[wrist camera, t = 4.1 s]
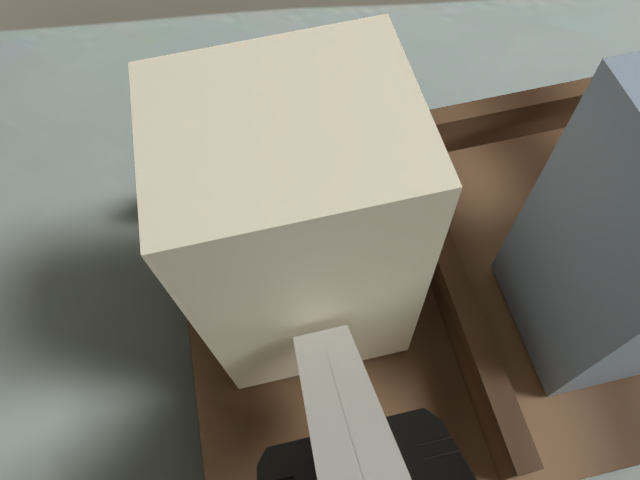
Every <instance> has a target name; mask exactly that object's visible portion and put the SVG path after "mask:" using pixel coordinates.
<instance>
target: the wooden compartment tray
mask: <svg viewBox="0 0 640 480" xmlns="http://www.w3.org/2000/svg"><path fill="white" fill-rule="evenodd" d="M592 78H593V77H591V78H586V79H581V80H576V81H571V82H566V83H561V84H556V85H551V86H546V87H541V88H536V89H531V90H526V91H521V92H516V93H511V94H506V95H502V96H497V97H492V98H487V99H482V100H477V101H472V102H467V103H462V104H457V105H452V106H447V107H442V108H437V109H432V110H430V113H431V115H432V117H433V120H434V122H435V124H436V127H437V129H438V131H439V133H440V136H441V138H442V140H443V143H444V145H445V147H446V150H447V152H448V154H449V157H450V159H451V161H452V164H453V166H454V168H455V171H456V173H457V175H458V178H459V180H460V182H461V185H462V190H461V193H460V196H459V199H458V202H457V205H456V208H455V211H454V214H453V217H452V220H451V223H450V226H449V229H448V232H447V235H446V238H445V241H444V244H443V247H442V250H441V253H440V256H439V259H438V262H437V265H436V268H435V271H434V274H433V277H432V280H431V283H430V286H429V289H428V292H427V295H426V298H425V301H424V304H423V307H422V310H421V313H420V315H419V318H418V321H417V324H416V327H415V330H414V333H413V336H412V339H411V342H410V345H409V348H408V350H405V351H401V352H397V353H392V354H388V355H384V356H379V357H375V358H371V359H367V360H362V361H363V364H364V366H365V369H366V371H367V373H368V376H369V378H370V381H371V383H372V385H373V388H374V390H375V393H376V395H377V397H378V400H379V402H380V405H381V407H382V409H383V412H384V414H385V417H387V416H392V415H396V414H400V413H404V412H408V411H412V410H417V409H421V408H425V409H427V410H428V411H430V412H431V413H433V414H434V415H436V416H437V417H439V418H440V419H441V420H442V422H443V423H444V425H445V427H446V428H447V430H448V432H449V433H450V435H451V438H452V439H453V440H454V442H455V444H456V445H457V447H458V449H459V452H461V454H462V456H463V457H464V459H465V461H466V462H467V464H468V466H469V468H470V469H471V471H472V473H473V474H474V476H475V478H476V480H581V479H585V478H589V477H592V476H596V475H600V474H604V473H608V472H612V471H616V470H620V469H624V468H628V467H632V466H635V465H639V464H640V375H636V376H632V377H628V378H623V379H619V380H615V381H611V382H607V383H603V384H599V385H595V386H591V387H587V388H582V389H578V390H574V391H570V392H566V393H562V394H558V395H554V396H550V397H547V396H546V394H545V391H544V389H543V387H542V384H541V382H540V380H539V377H538V375H537V373H536V370H535V368H534V366H533V363H532V361H531V359H530V356H529V354H528V351H527V349H526V347H525V344H524V342H523V340H522V337H521V335H520V333H519V330H518V328H517V326H516V323H515V321H514V319H513V316H512V314H511V311H510V309H509V307H508V304H507V302H506V300H505V297H504V295H503V293H502V290H501V288H500V286H499V283H498V281H497V279H496V276H495V274H494V271H493V269H492V267H491V265H492V263H493V261H494V259H495V257H496V255H497V254H498V252H499V250H500V248H501V246H502V244H503V243H504V241H505V239H506V237H507V235H508V233H509V231H510V230H511V228H512V226H513V224H514V222H515V220H516V218H517V217H518V215H519V213H520V211H521V209H522V207H523V205H524V204H525V202H526V200H527V198H528V196H529V194H530V192H531V191H532V189H533V187H534V185H535V183H536V181H537V180H538V178H539V176H540V174H541V172H542V170H543V168H544V167H545V165H546V163H547V161H548V159H549V157H550V155H551V154H552V152H553V150H554V148H555V146H556V144H557V142H558V141H559V139H560V137H561V135H562V133H563V131H564V129H565V128H566V126H567V124H568V122H569V120H570V118H571V116H572V115H573V113H574V111H575V109H576V107H577V105H578V104H579V102H580V100H581V98H582V96H583V94H584V92H585V91H586V89H587V87H588V85H589V83H590V81H591V79H592ZM188 328H189V337H190V347H191V356H192V366H193V375H194V384H195V394H196V403H197V413H198V422H199V432H200V441H201V450H202V460H203V469H204V479H205V480H257V464H258V462H259V460H260V458H261V456H262V454H263V453H264V451H265V449H266V447H270V446H274V445H278V444H282V443H286V442H291V441H295V440H299V439H303V438H307V437H310V434H309V428H308V422H307V417H306V411H305V405H304V399H303V393H302V387H301V381H300V376H299V375H298V376H294V377H289V378H285V379H281V380H276V381H272V382H268V383H263V384H259V385H255V386H251V387H246V388H242V389H239V388H238V387H237V386H236V384H235V383H234V382H233V380H232V379H231V378H230V376H229V375H228V373H227V372H226V371H225V369H224V368H223V367H222V365H221V364H220V363H219V361H218V360H217V358H216V357H215V356H214V354H213V353H212V352H211V350H210V349H209V348H208V346H207V345H206V344H205V342H204V341H203V339H202V338H201V337H200V335H199V334H198V333H197V331H196V330H195V329H194V327H193V326H192V325H191V323H190V322H189V320H188Z"/></svg>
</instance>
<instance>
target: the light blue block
mask: <svg viewBox="0 0 640 480" xmlns="http://www.w3.org/2000/svg"><path fill="white" fill-rule="evenodd" d="M491 267H492V269H493V271H494V274H495V276H496V279H497V281H498V283H499V286H500V288H501V290H502V293H503V295H504V297H505V300H506V302H507V304H508V307H509V309H510V311H511V314H512V316H513V319H514V321H515V323H516V326H517V328H518V330H519V333H520V335H521V337H522V340H523V342H524V344H525V347H526V349H527V351H528V354H529V356H530V359H531V361H532V363H533V366H534V368H535V370H536V373H537V375H538V377H539V380H540V382H541V384H542V387H543V389H544V391H545V394H546V396H547V397H550V396H554V395H558V394H562V393H566V392H570V391H574V390H578V389H582V388H587V387H591V386H595V385H599V384H603V383H607V382H611V381H615V380H619V379H623V378H628V377H632V376H636V375H640V51H638V52H633V53H628V54H623V55H618V56H613V57H608V58H603V59H602V61H601V63H600V65H599V66H598V68H597V70H596V72H595V74H594V76H593V78H592V79H591V81H590V83H589V85H588V87H587V89H586V91H585V92H584V94H583V96H582V98H581V100H580V102H579V104H578V105H577V107H576V109H575V111H574V113H573V115H572V116H571V118H570V120H569V122H568V124H567V126H566V128H565V129H564V131H563V133H562V135H561V137H560V139H559V141H558V142H557V144H556V146H555V148H554V150H553V152H552V154H551V155H550V157H549V159H548V161H547V163H546V165H545V167H544V168H543V170H542V172H541V174H540V176H539V178H538V180H537V181H536V183H535V185H534V187H533V189H532V191H531V192H530V194H529V196H528V198H527V200H526V202H525V204H524V205H523V207H522V209H521V211H520V213H519V215H518V217H517V218H516V220H515V222H514V224H513V226H512V228H511V230H510V231H509V233H508V235H507V237H506V239H505V241H504V243H503V244H502V246H501V248H500V250H499V252H498V254H497V255H496V257H495V259H494V261H493V263H492V265H491Z"/></svg>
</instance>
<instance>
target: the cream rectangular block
mask: <svg viewBox="0 0 640 480" xmlns="http://www.w3.org/2000/svg"><path fill="white" fill-rule="evenodd" d="M128 66H129V81H130V97H131V112H132V128H133V143H134V159H135V174H136V190H137V206H138V221H139V237H140V252H141V257H142V258H143V259H144V261H145V262H146V263H147V265H148V266H149V268H150V269H151V270H152V272H153V273H154V274H155V276H156V277H157V278H158V280H159V281H160V282H161V284H162V285H163V287H164V288H165V289H166V291H167V292H168V293H169V295H170V296H171V297H172V299H173V300H174V301H175V303H176V304H177V306H178V307H179V308H180V310H181V311H182V312H183V314H184V315H185V316H186V318H187V319H188V320H189V322H190V323H191V325H192V326H193V327H194V329H195V330H196V331H197V333H198V334H199V335H200V337H201V338H202V339H203V341H204V342H205V344H206V345H207V346H208V348H209V349H210V350H211V352H212V353H213V354H214V356H215V357H216V358H217V360H218V361H219V363H220V364H221V365H222V367H223V368H224V369H225V371H226V372H227V373H228V375H229V376H230V378H231V379H232V380H233V382H234V383H235V384H236V386H237V387H238V388H239V389H242V388H246V387H251V386H255V385H259V384H263V383H268V382H272V381H276V380H281V379H285V378H289V377H294V376H298V375H299V370H298V364H297V358H296V352H295V346H294V340H293V337H296V336H300V335H305V334H309V333H314V332H318V331H322V330H327V329H331V328H336V327H340V326H344V325H348V328H349V330H350V333H351V335H352V337H353V340H354V342H355V345H356V347H357V349H358V352H359V354H360V357H361V359H362V360H367V359H371V358H375V357H379V356H384V355H388V354H392V353H397V352H401V351H405V350H408V348H409V345H410V342H411V339H412V336H413V333H414V330H415V327H416V324H417V321H418V318H419V315H420V313H421V310H422V307H423V304H424V301H425V298H426V295H427V292H428V289H429V286H430V283H431V280H432V277H433V274H434V271H435V268H436V265H437V262H438V259H439V256H440V253H441V250H442V247H443V244H444V241H445V238H446V235H447V232H448V229H449V226H450V223H451V220H452V217H453V214H454V211H455V208H456V205H457V202H458V199H459V196H460V193H461V190H462V185H461V182H460V180H459V178H458V175H457V173H456V171H455V168H454V166H453V164H452V161H451V159H450V157H449V154H448V152H447V150H446V147H445V145H444V143H443V140H442V138H441V136H440V133H439V131H438V129H437V127H436V124H435V122H434V120H433V117H432V115H431V113H430V110H429V108H428V106H427V103H426V101H425V99H424V96H423V94H422V92H421V89H420V87H419V85H418V82H417V80H416V78H415V75H414V73H413V71H412V68H411V66H410V64H409V62H408V59H407V57H406V55H405V52H404V50H403V48H402V45H401V43H400V41H399V38H398V36H397V34H396V31H395V29H394V27H393V24H392V22H391V20H390V17H389V15H388V14H383V15H378V16H372V17H367V18H362V19H356V20H351V21H346V22H340V23H335V24H330V25H324V26H319V27H314V28H308V29H303V30H298V31H292V32H287V33H282V34H276V35H271V36H266V37H260V38H255V39H250V40H244V41H239V42H234V43H228V44H223V45H218V46H212V47H207V48H202V49H196V50H191V51H185V52H180V53H175V54H169V55H164V56H159V57H153V58H148V59H143V60H137V61H132V62H128Z"/></svg>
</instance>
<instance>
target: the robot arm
mask: <svg viewBox="0 0 640 480" xmlns="http://www.w3.org/2000/svg"><path fill="white" fill-rule="evenodd" d="M293 340H294V346H295V352H296V358H297V364H298V370H299V376H300V381H301V387H302V393H303V399H304V405H305V411H306V417H307V422H308V428H309V434H310V437H307V438H303V439H299V440H295V441H291V442H286V443H282V444H278V445H274V446H270V447H266V449H265V451H264V453H263V454H262V456H261V458H260V460H259V462H258V464H257V480H476V478H475V476H474V474H473V473H472V471H471V469H470V468H469V466H468V464H467V462H466V461H465V459H464V457H463V456H462V454H461V452H459V449H458V447H457V445H456V444H455V442H454V440H453V439H452V438H451V435H450V433H449V432H448V430H447V428H446V427H445V425H444V423H443V422H442V420H441V419H440V418H439V417H437V416H436V415H434V414H433V413H431V412H430V411H428V410H427V409H425V408H421V409H417V410H412V411H408V412H404V413H400V414H396V415H392V416H387V417H385V414H384V412H383V409H382V407H381V405H380V402H379V400H378V397H377V395H376V393H375V390H374V388H373V385H372V383H371V381H370V378H369V376H368V373H367V371H366V369H365V366H364V364H363V361H362V359H361V357H360V354H359V352H358V349H357V347H356V345H355V342H354V340H353V337H352V335H351V333H350V330H349V328H348V325H344V326H340V327H336V328H331V329H327V330H322V331H318V332H314V333H309V334H305V335H300V336H296V337H293Z"/></svg>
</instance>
